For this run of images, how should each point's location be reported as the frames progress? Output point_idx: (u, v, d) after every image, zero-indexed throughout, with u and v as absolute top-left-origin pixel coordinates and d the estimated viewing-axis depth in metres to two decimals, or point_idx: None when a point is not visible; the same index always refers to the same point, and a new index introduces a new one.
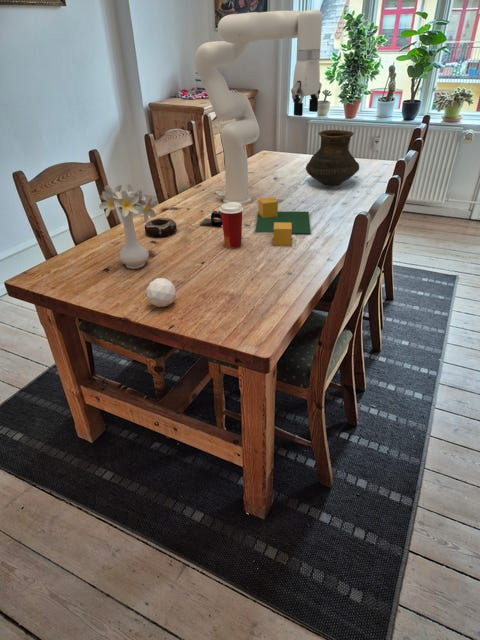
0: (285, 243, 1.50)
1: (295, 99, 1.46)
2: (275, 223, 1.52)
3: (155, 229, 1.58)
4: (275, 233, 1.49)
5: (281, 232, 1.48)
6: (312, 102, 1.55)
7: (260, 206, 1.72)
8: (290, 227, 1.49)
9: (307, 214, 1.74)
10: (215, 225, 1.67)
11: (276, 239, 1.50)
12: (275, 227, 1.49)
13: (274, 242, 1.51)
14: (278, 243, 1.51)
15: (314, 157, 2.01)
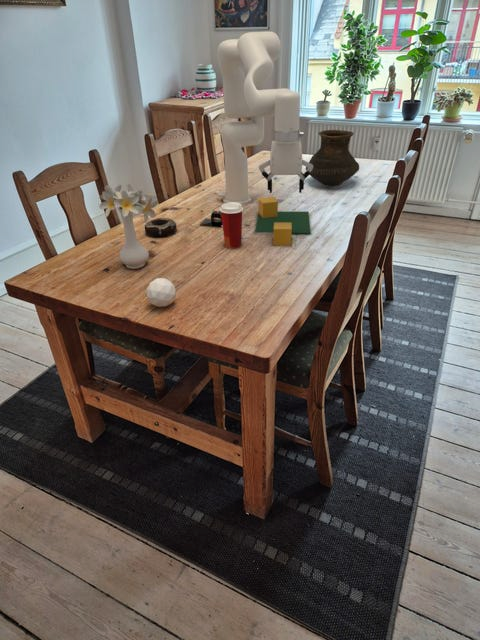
0: (285, 243, 1.50)
1: None
2: (275, 223, 1.52)
3: (155, 229, 1.58)
4: (275, 233, 1.49)
5: (281, 232, 1.48)
6: (299, 182, 1.43)
7: (260, 206, 1.72)
8: (290, 227, 1.49)
9: (307, 214, 1.74)
10: (215, 225, 1.67)
11: (276, 239, 1.50)
12: (275, 227, 1.49)
13: (274, 242, 1.51)
14: (278, 243, 1.51)
15: (314, 157, 2.01)
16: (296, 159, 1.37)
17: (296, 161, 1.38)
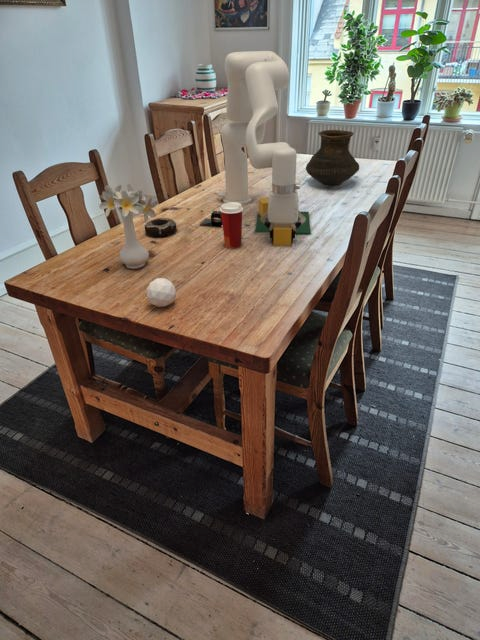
0: (285, 243, 1.50)
1: None
2: (275, 223, 1.52)
3: (155, 229, 1.58)
4: (275, 233, 1.49)
5: (281, 232, 1.48)
6: None
7: (260, 206, 1.72)
8: (290, 227, 1.49)
9: (307, 214, 1.74)
10: (215, 225, 1.67)
11: (276, 239, 1.50)
12: (275, 227, 1.49)
13: (274, 242, 1.51)
14: (278, 243, 1.51)
15: (314, 157, 2.01)
16: (292, 209, 1.44)
17: (292, 211, 1.45)
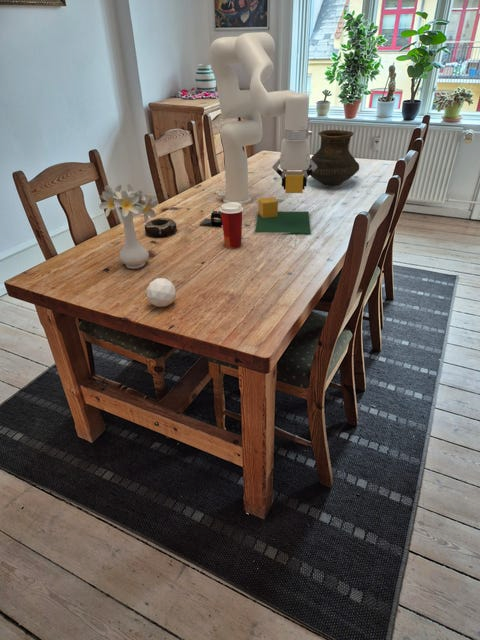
0: (297, 190, 1.55)
1: None
2: (287, 171, 1.56)
3: (155, 229, 1.58)
4: (287, 180, 1.53)
5: (293, 179, 1.53)
6: None
7: (260, 206, 1.72)
8: (302, 174, 1.53)
9: (307, 214, 1.74)
10: (215, 225, 1.67)
11: (288, 187, 1.54)
12: (287, 174, 1.53)
13: (286, 189, 1.55)
14: (290, 190, 1.55)
15: (314, 157, 2.01)
16: (304, 156, 1.49)
17: (304, 157, 1.49)
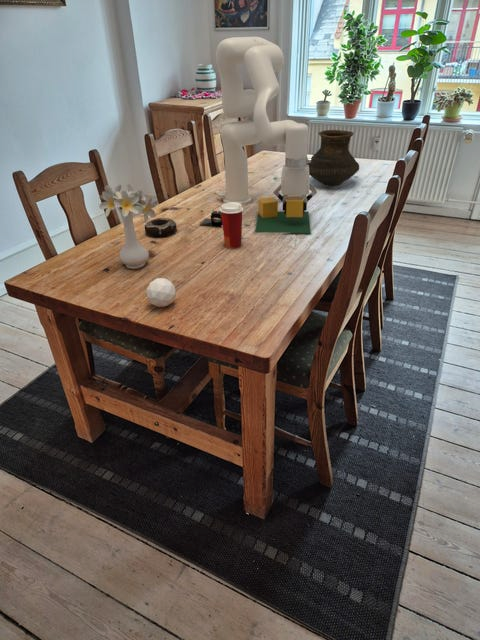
0: (297, 215, 1.61)
1: None
2: None
3: (155, 229, 1.58)
4: (288, 205, 1.59)
5: (294, 204, 1.59)
6: None
7: (260, 206, 1.72)
8: (302, 199, 1.59)
9: (307, 214, 1.74)
10: (215, 225, 1.67)
11: (289, 211, 1.60)
12: (288, 199, 1.59)
13: (287, 214, 1.61)
14: (290, 215, 1.61)
15: (314, 157, 2.01)
16: (304, 182, 1.55)
17: (304, 184, 1.55)
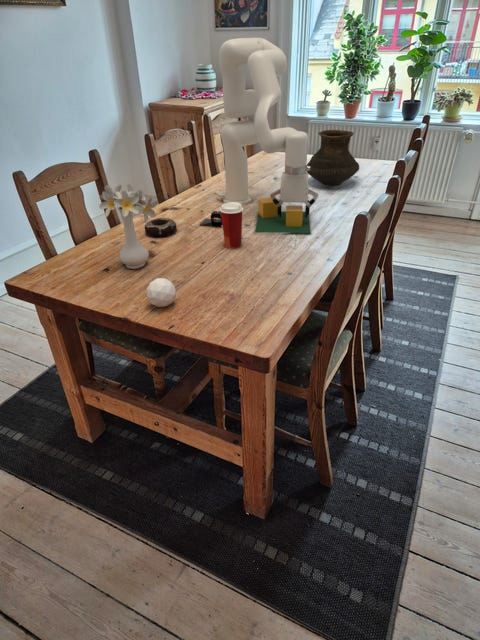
0: (296, 224, 1.63)
1: None
2: (287, 206, 1.65)
3: (155, 229, 1.58)
4: (287, 215, 1.61)
5: (293, 214, 1.61)
6: (305, 208, 1.63)
7: (260, 206, 1.72)
8: (301, 209, 1.61)
9: None
10: (215, 225, 1.67)
11: (289, 221, 1.62)
12: (287, 209, 1.61)
13: (286, 223, 1.63)
14: (290, 224, 1.63)
15: (314, 157, 2.01)
16: (303, 189, 1.57)
17: (303, 191, 1.57)
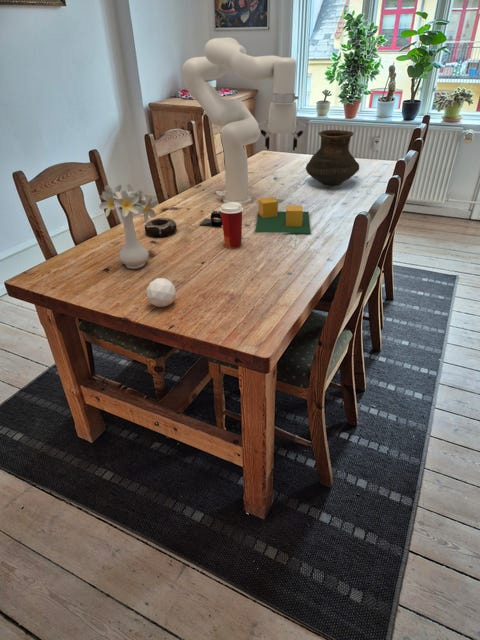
0: (296, 224, 1.63)
1: None
2: (287, 206, 1.65)
3: (155, 229, 1.58)
4: (287, 215, 1.61)
5: (293, 214, 1.61)
6: None
7: (260, 206, 1.72)
8: (301, 209, 1.61)
9: (307, 214, 1.74)
10: (215, 225, 1.67)
11: (289, 221, 1.62)
12: (287, 209, 1.61)
13: (286, 223, 1.63)
14: (290, 224, 1.63)
15: (314, 157, 2.01)
16: (291, 119, 1.56)
17: (291, 121, 1.57)
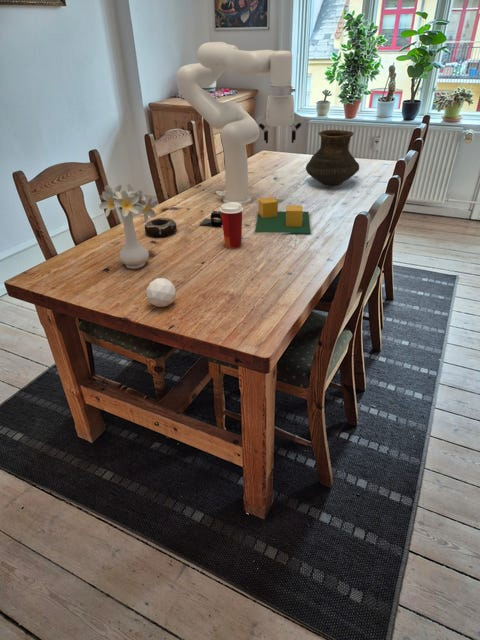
0: (296, 224, 1.63)
1: None
2: (287, 206, 1.65)
3: (155, 229, 1.58)
4: (287, 215, 1.61)
5: (293, 214, 1.61)
6: None
7: (260, 206, 1.72)
8: (301, 209, 1.61)
9: (307, 214, 1.74)
10: (215, 225, 1.67)
11: (289, 221, 1.62)
12: (287, 209, 1.61)
13: (286, 223, 1.63)
14: (290, 224, 1.63)
15: (314, 157, 2.01)
16: (289, 111, 1.58)
17: (289, 113, 1.58)
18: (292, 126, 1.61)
